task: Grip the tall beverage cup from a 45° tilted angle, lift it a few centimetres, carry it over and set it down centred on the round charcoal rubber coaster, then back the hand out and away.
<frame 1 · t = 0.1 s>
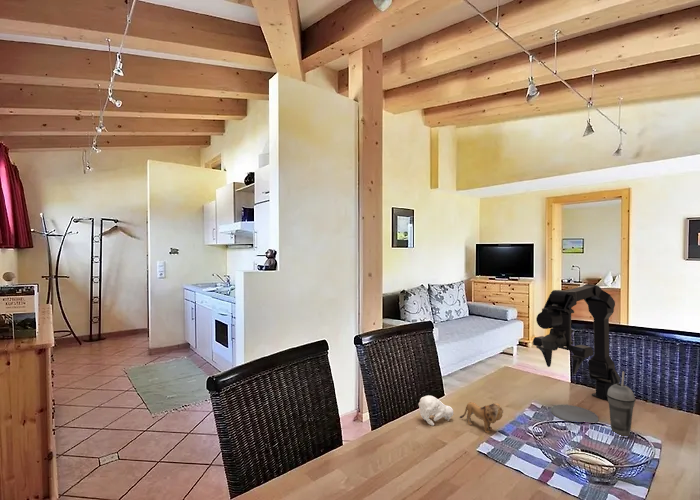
hand: (561, 370, 134), 15 cm above the table, tool pointing down, fingers open, 9 cm apart
coaster: (574, 415, 131), on the table
beverage cup: (620, 435, 118), on the table
lion figurine: (481, 427, 122), on the table
white rounded figure: (437, 421, 126), on the table
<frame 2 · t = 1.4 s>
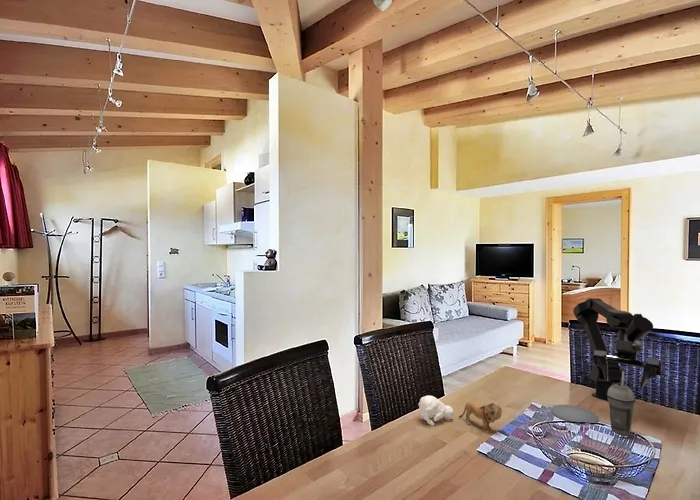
hand: (623, 384, 124), 13 cm above the table, tool tilted 45°, fingers open, 9 cm apart
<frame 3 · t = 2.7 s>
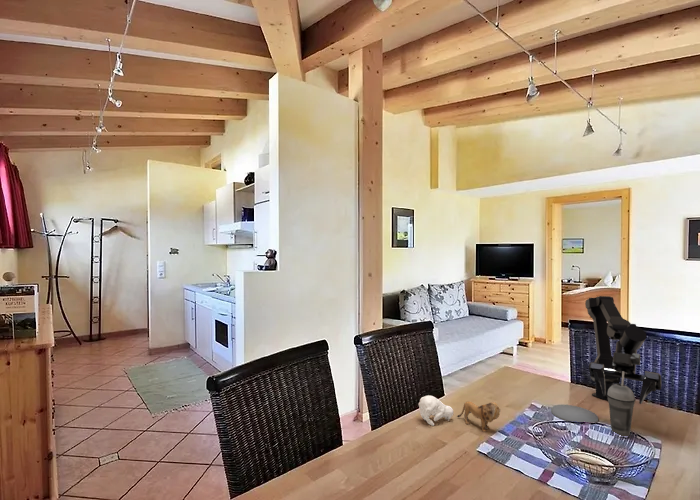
hand: (621, 399, 118), 11 cm above the table, tool tilted 45°, fingers open, 9 cm apart
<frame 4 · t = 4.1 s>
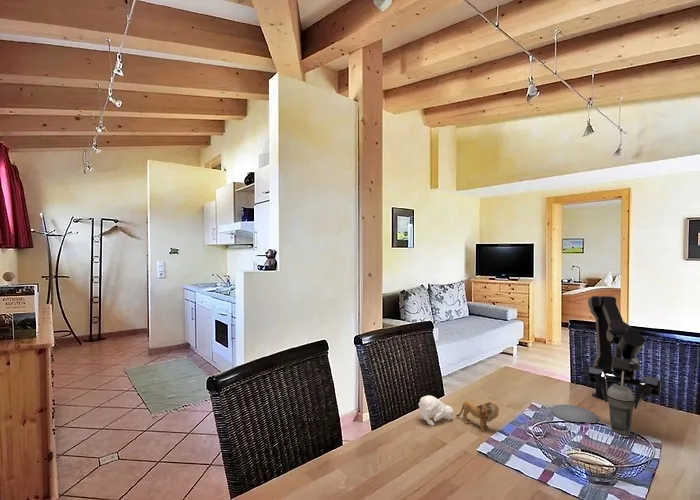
hand: (620, 405, 116), 10 cm above the table, tool tilted 45°, fingers closed on beverage cup, 7 cm apart
beverage cup: (620, 435, 118), on the table, touching gripper
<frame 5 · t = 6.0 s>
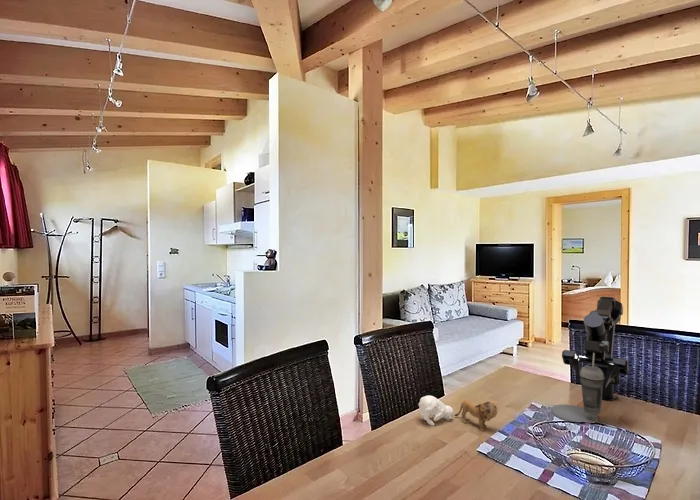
hand: (591, 384, 125), 13 cm above the table, tool tilted 45°, fingers closed on beverage cup, 7 cm apart
beverage cup: (592, 412, 126), point 3 cm above the table, touching gripper
when the fingers open (11 cm above the table, at t = 7.8 s): beverage cup stays where it is, resting on coaster.
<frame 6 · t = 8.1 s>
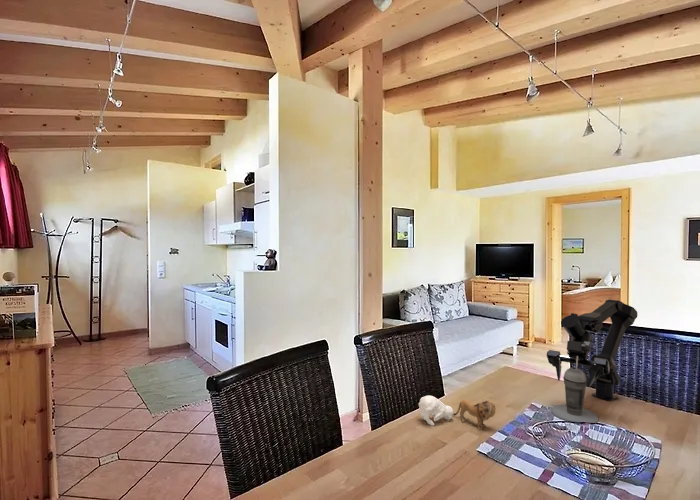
hand: (573, 382, 130), 12 cm above the table, tool tilted 45°, fingers open, 9 cm apart
beverage cup: (574, 413, 131), point 1 cm above the table, touching coaster
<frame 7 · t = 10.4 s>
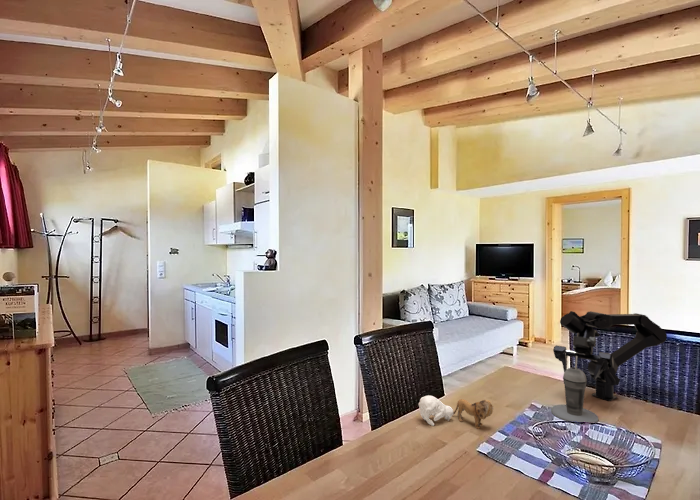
hand: (579, 376, 137), 12 cm above the table, tool tilted 45°, fingers open, 9 cm apart
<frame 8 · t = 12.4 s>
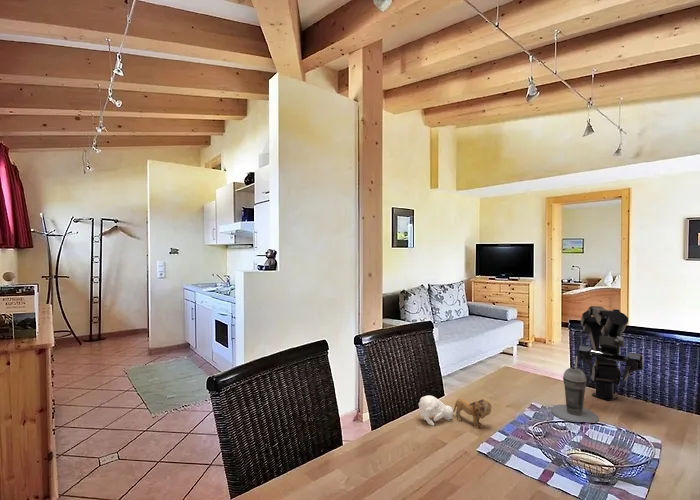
hand: (606, 378, 129), 14 cm above the table, tool tilted 45°, fingers open, 9 cm apart
at the end: beverage cup 0.2 cm from the coaster (horizontally); beverage cup tilted 0°; the gripper is holding nothing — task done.
